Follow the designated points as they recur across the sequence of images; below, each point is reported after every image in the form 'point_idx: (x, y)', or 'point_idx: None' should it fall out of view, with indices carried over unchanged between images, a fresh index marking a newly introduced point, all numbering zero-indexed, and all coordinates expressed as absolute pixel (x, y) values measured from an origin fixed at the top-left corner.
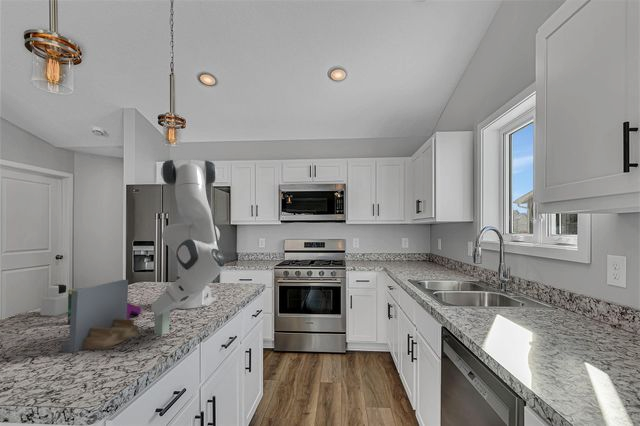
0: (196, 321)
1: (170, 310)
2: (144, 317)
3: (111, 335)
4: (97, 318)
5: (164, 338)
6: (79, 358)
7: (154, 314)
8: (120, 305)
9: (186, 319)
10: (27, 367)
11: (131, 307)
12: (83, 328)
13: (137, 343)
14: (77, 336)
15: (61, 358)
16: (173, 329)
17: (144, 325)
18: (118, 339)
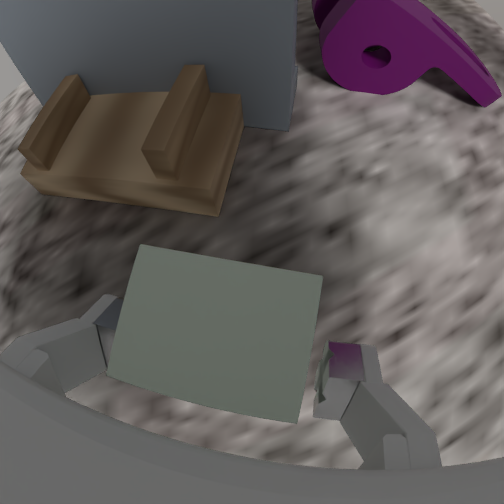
0: (460, 462)
1: (315, 399)
2: (474, 134)
3: (44, 168)
4: (83, 44)
5: (131, 411)
6: (7, 171)
7: (97, 305)
8: (226, 1)
9: (497, 376)
10: (11, 107)
11: (439, 53)
12: (43, 71)
13: (75, 290)
14: (37, 90)
15: (27, 127)
16: (306, 405)
17: (374, 180)
18: (86, 191)
